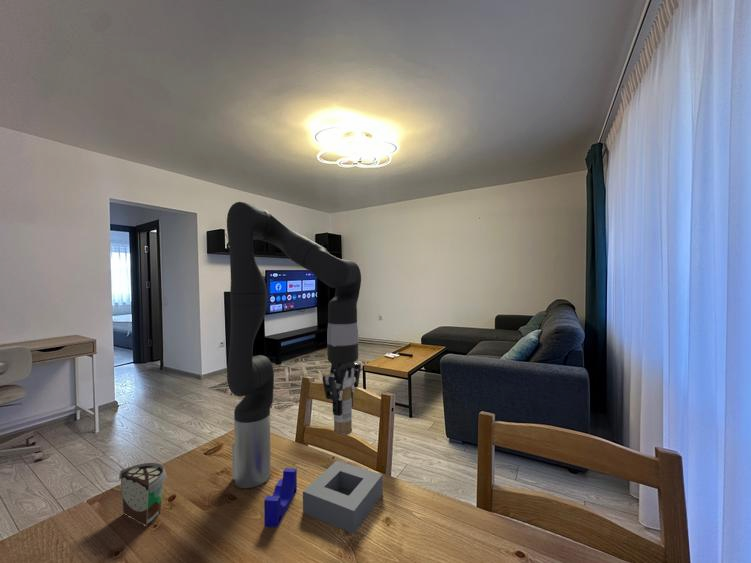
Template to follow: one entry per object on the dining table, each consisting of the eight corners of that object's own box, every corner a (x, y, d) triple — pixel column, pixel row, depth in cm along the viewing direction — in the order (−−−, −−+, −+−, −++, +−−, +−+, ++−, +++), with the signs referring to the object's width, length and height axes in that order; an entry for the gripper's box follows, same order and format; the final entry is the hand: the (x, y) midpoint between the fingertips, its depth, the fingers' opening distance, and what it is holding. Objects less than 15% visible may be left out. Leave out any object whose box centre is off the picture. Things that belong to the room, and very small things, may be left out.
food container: (178, 510, 74) (178, 468, 74) (150, 529, 68) (150, 484, 68) (147, 496, 79) (147, 456, 79) (119, 512, 73) (119, 470, 73)
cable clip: (280, 490, 81) (279, 467, 81) (296, 491, 80) (296, 468, 81) (258, 526, 69) (257, 499, 69) (277, 528, 69) (277, 501, 69)
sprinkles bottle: (349, 426, 79) (349, 373, 79) (354, 435, 75) (353, 379, 75) (331, 429, 77) (331, 375, 77) (335, 438, 73) (335, 381, 73)
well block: (302, 512, 73) (302, 491, 73) (336, 478, 85) (336, 460, 85) (354, 534, 66) (354, 510, 66) (382, 494, 79) (382, 474, 79)
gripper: (345, 335, 84) (346, 398, 84) (312, 345, 71) (312, 419, 71) (370, 337, 81) (370, 403, 81) (339, 348, 68) (339, 426, 68)
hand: (343, 410), depth 76 cm, fingers closed on sprinkles bottle, 4 cm apart
